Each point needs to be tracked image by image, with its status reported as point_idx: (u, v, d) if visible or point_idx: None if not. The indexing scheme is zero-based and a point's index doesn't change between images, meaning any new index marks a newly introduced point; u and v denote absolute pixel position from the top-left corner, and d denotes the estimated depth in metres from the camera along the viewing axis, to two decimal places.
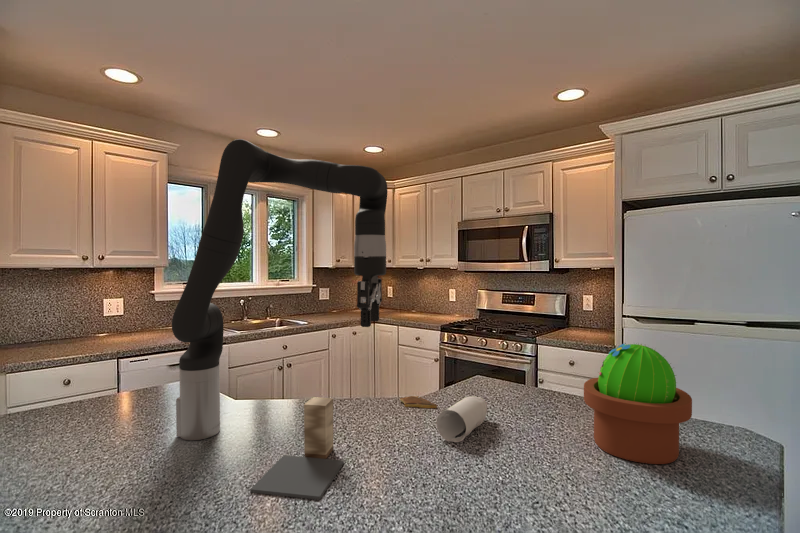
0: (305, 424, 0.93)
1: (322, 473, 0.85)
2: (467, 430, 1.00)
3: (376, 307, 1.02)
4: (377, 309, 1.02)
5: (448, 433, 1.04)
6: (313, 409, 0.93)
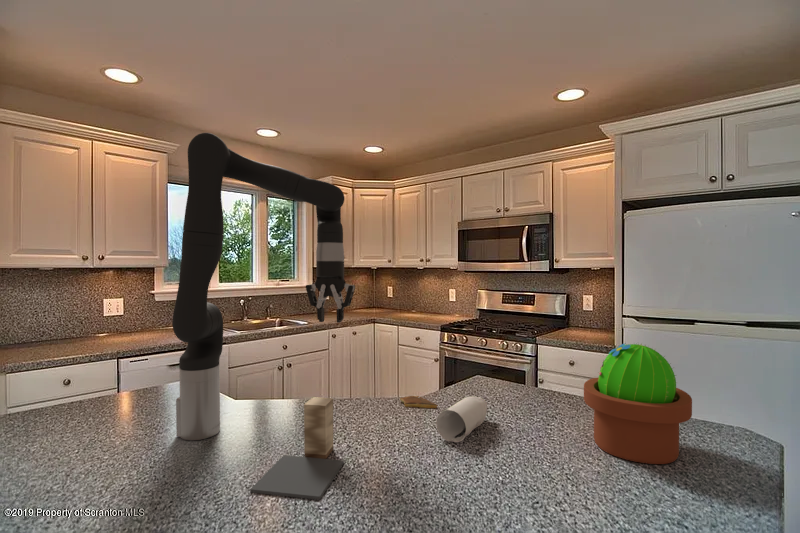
0: (305, 424, 0.93)
1: (322, 473, 0.85)
2: (467, 430, 1.00)
3: (323, 309, 1.15)
4: None
5: (448, 433, 1.04)
6: (313, 409, 0.93)
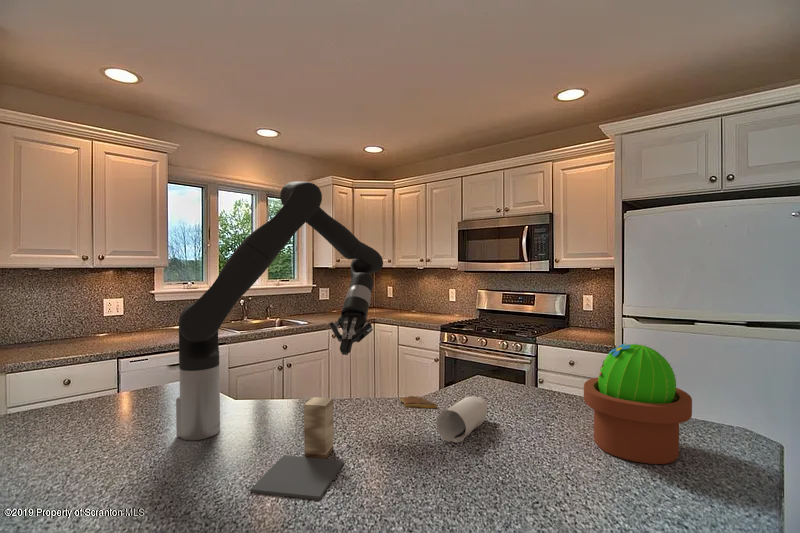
0: (305, 424, 0.93)
1: (322, 473, 0.85)
2: (467, 430, 1.00)
3: None
4: None
5: (447, 433, 1.04)
6: (313, 409, 0.93)
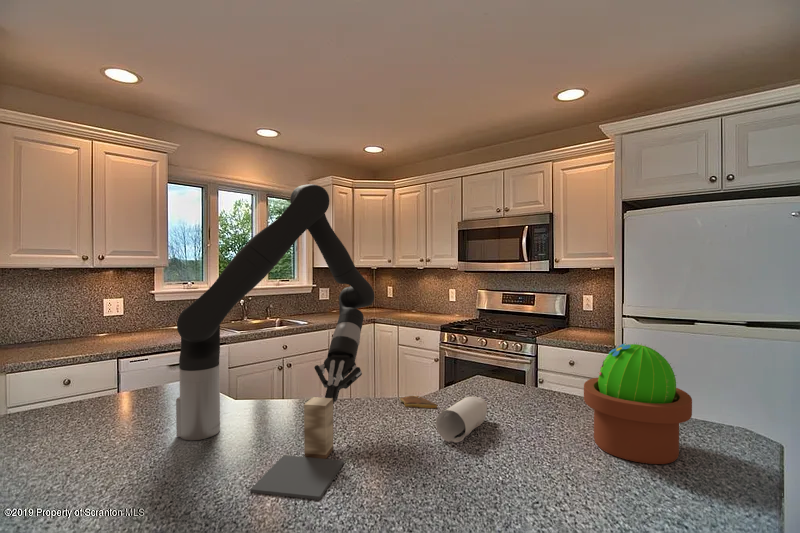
0: (305, 424, 0.93)
1: (322, 473, 0.85)
2: (467, 430, 0.99)
3: None
4: None
5: (447, 433, 1.04)
6: (313, 409, 0.93)
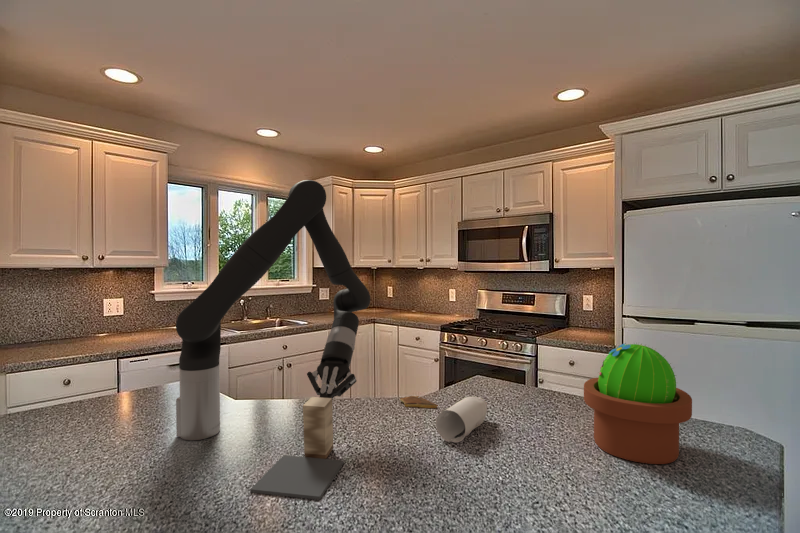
0: (304, 425, 0.93)
1: (322, 473, 0.85)
2: (466, 430, 0.99)
3: None
4: None
5: (447, 433, 1.04)
6: (312, 410, 0.92)
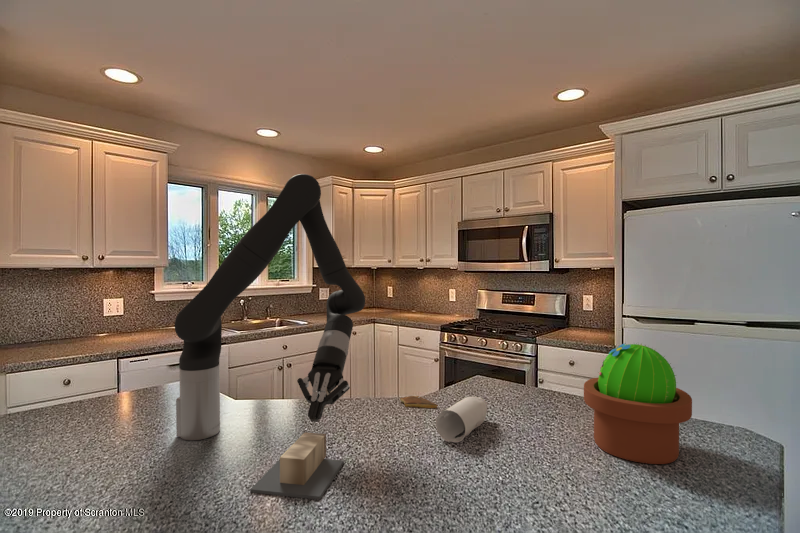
0: None
1: (322, 473, 0.85)
2: (466, 430, 0.99)
3: None
4: None
5: (447, 433, 1.04)
6: None
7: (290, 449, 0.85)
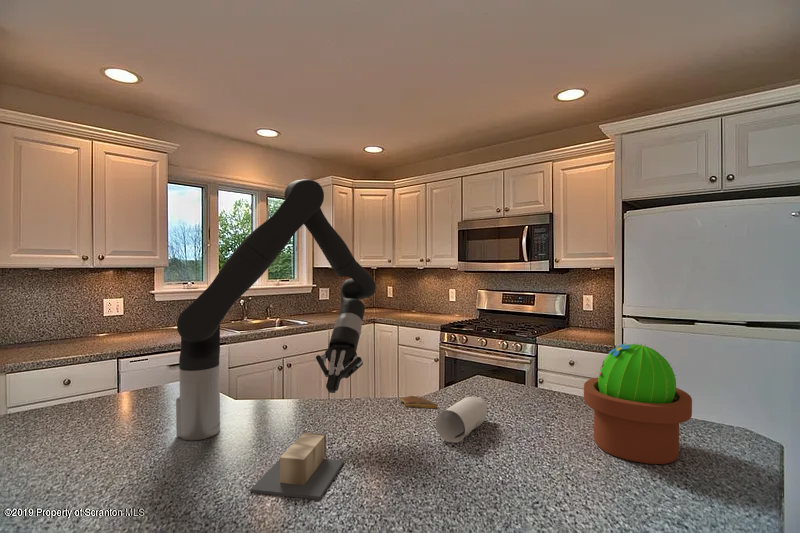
0: None
1: (322, 473, 0.85)
2: (466, 430, 0.99)
3: None
4: None
5: (447, 433, 1.04)
6: None
7: (290, 449, 0.85)
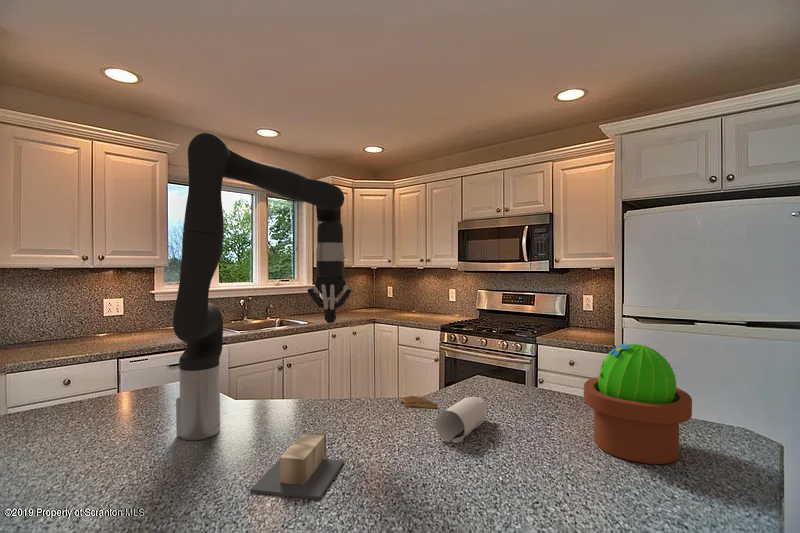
0: None
1: (322, 473, 0.85)
2: (466, 431, 0.99)
3: None
4: None
5: (447, 434, 1.04)
6: None
7: (290, 449, 0.85)
